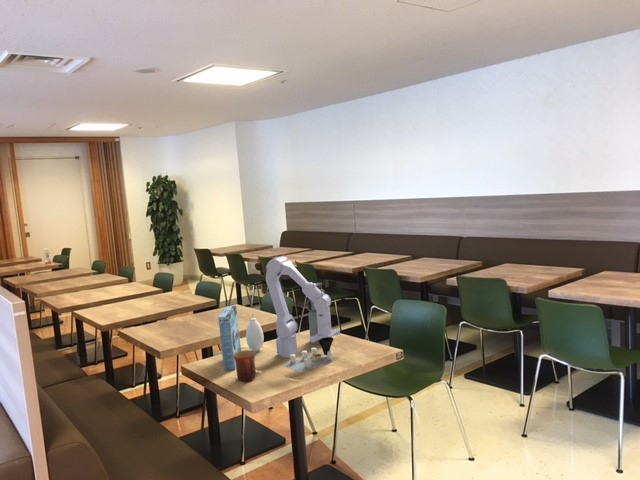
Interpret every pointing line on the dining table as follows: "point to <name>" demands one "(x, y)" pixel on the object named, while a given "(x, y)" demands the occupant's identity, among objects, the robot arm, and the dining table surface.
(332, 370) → the dining table surface
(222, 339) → the blue cereal box
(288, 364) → the plate
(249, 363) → the mug
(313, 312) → the water bottle
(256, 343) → the sauce bottle
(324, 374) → the dining table surface
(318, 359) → the nut
